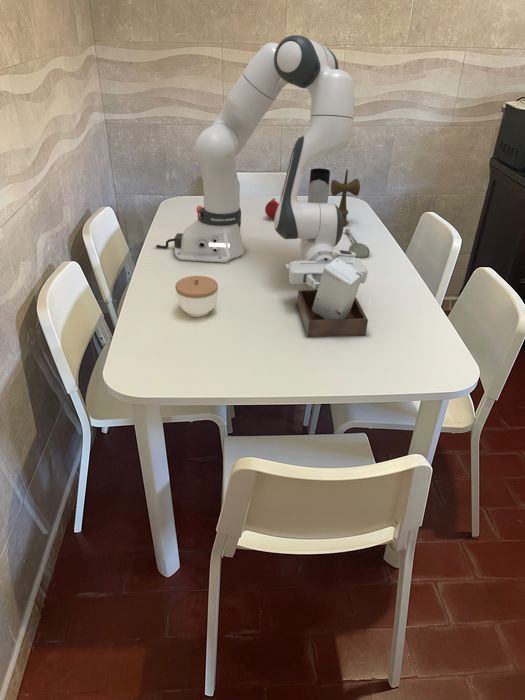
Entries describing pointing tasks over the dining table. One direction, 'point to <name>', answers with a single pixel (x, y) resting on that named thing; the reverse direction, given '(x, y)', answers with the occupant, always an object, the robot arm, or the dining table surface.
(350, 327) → the crate
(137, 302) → the dining table surface
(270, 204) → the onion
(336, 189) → the kendama
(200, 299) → the trinket box
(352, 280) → the cosmetic box
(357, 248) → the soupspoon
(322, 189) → the glass holder
